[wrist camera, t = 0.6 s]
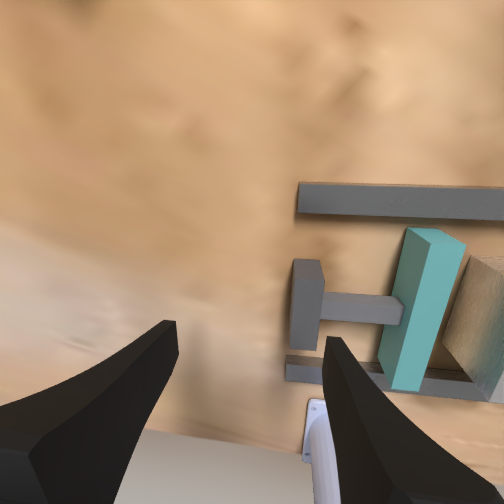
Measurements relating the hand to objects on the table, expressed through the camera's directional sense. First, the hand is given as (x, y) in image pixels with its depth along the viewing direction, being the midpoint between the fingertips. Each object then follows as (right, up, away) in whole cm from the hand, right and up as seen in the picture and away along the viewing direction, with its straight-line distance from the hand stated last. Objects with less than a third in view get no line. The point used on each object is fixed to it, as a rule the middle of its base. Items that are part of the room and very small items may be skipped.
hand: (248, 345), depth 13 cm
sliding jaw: (+8, +1, +9) cm, 13 cm away
